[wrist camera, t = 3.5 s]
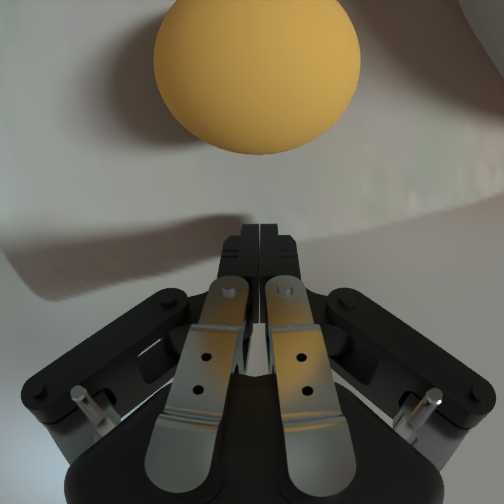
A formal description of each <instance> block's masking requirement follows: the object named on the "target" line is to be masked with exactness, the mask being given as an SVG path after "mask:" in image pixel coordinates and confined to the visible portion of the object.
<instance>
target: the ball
mask: <svg viewBox="0 0 504 504" xmlns="http://www.w3.org/2000/svg"><path fill="white" fill-rule="evenodd" d="M360 64H361V60H360V48H359V43H358V38H357V35H356V32H355V29H354V26H353V24H352V22H351V20H350V19H349V17H348V15H347V13H346V12H345V10H344V9H343V8H342V6H341V5H340V4H339V2H338V1H337V0H177V1H176V2H175V3H174V4H173V5H172V7H171V8H170V9H169V11H168V13H167V14H166V16H165V18H164V19H163V21H162V24H161V26H160V28H159V31H158V34H157V38H156V41H155V47H154V73H155V79H156V82H157V86H158V89H159V92H160V94H161V96H162V98H163V101H164V103H165V104H166V106H167V107H168V109H169V110H170V112H171V113H172V114H173V116H174V117H175V118H176V119H177V120H178V122H179V123H180V124H182V125H183V126H184V127H185V128H186V129H187V130H188V131H189V132H191V133H192V134H194V135H195V136H196V137H198V138H199V139H201V140H203V141H205V142H207V143H208V144H211V145H213V146H216V147H218V148H221V149H224V150H228V151H231V152H236V153H242V154H255V155H262V154H274V153H279V152H284V151H288V150H291V149H294V148H297V147H299V146H302V145H304V144H306V143H308V142H310V141H312V140H314V139H315V138H317V137H319V136H320V135H321V134H323V133H324V132H325V131H326V130H328V129H329V128H330V127H331V126H332V125H333V124H334V123H335V122H336V121H337V120H338V119H339V118H340V116H341V115H342V114H343V112H344V111H345V110H346V108H347V107H348V105H349V103H350V101H351V99H352V97H353V95H354V92H355V90H356V87H357V83H358V79H359V75H360Z"/></svg>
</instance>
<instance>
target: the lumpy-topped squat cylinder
mask: <svg viewBox="0 0 504 504" xmlns="http://www.w3.org/2000/svg"><path fill="white" fill-rule="evenodd" d="M458 2H459V4H460V7H461V9H462V11H463V13H464V15H465V17H466V19H467V21H468V23H469V25H470V27H471V29H472V31H473V32H474V34H475V36H476V37H477V39H478V40H479V42H480V44H481V45H482V47H483V48H484V50H485V51H486V53H487V54H488V56H489V57H490V59H491V61H492V62H493V64H494V65H495V67H496V68H497V70H498V71H499V73H500V74H501V76H502V77H503V79H504V0H458Z"/></svg>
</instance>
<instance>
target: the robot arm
mask: <svg viewBox="0 0 504 504" xmlns="http://www.w3.org/2000/svg"><path fill="white" fill-rule="evenodd" d="M259 284H260V323H265V341H266V352H267V363H268V373H269V374H267V375H262V376H258V377H252V376H247V375H246V374H247V367H248V360H249V354H250V347H251V335H252V331H253V323H259ZM158 339H161V340H160V341H159V342H158V343H156V344H155V345H154V346H152V347H151V348H150V349H148V350H147V351H146V352H144V353H143V354H142V355H140V356H139V357H138V355H139V354H140V353H141V352H142V351H144V350H145V349H146V348H148V347H149V346H151V345H152V344H153V343H154V342H156V341H157V340H158ZM331 369H333V370H334V371H335V372H336V373H337V374H339V375H340V376H341V377H342V378H343V379H344V380H346V381H347V382H348V383H349V384H350V385H352V386H353V387H354V388H355V389H356V390H358V391H359V392H360V393H361V394H362V395H364V396H365V397H366V398H367V399H368V400H370V401H371V402H372V403H373V404H374V405H376V406H377V407H378V408H379V409H381V410H382V411H383V412H384V413H385V414H387V415H388V416H389V417H390V418H392V419H393V429H392V428H391V427H390V426H389V425H388V424H387V423H386V422H384V421H383V420H382V419H381V418H380V417H379V416H378V415H377V414H375V413H374V412H373V411H372V410H371V409H370V408H369V407H368V406H367V405H365V404H364V403H363V402H362V401H361V400H360V399H359V398H358V397H357V396H355V395H354V394H353V393H352V392H351V391H350V390H348V389H347V388H345V387H344V386H342V385H340V384H338V383H336V382H334V379H333V375H332V371H331ZM173 377H174V379H173V382H172V383H170V384H168V385H166V386H165V387H163V388H162V389H160V390H159V391H158V392H156V393H155V394H154V395H153V396H152V397H150V398H149V399H148V400H147V401H146V402H145V403H143V404H142V405H141V406H140V407H139V408H137V409H136V410H135V411H134V412H133V413H131V414H130V415H129V416H128V417H127V418H125V419H124V420H123V421H122V422H121V418H122V417H123V416H124V415H126V414H127V413H128V412H130V411H131V410H132V409H134V408H135V407H136V406H138V405H139V404H140V403H141V402H143V401H144V400H145V399H146V398H148V397H149V396H150V395H152V394H153V393H154V392H155V391H157V390H158V389H159V388H160V387H162V386H163V385H164V384H165V383H167V382H168V381H169V380H170V379H172V378H173ZM21 400H22V402H23V404H24V406H25V407H26V408H27V409H28V410H29V411H30V412H31V413H32V414H33V415H34V416H35V417H36V418H37V420H38V421H39V422H40V423H41V424H42V425H43V426H44V427H46V428H47V429H48V431H49V433H50V434H51V436H52V438H53V439H54V441H55V443H56V444H57V446H58V447H59V449H60V451H61V452H62V454H63V455H64V457H65V458H66V460H67V461H68V463H69V464H70V467H69V469H68V471H67V473H66V476H65V481H64V493H65V498H66V502H67V504H443V499H444V484H443V480H442V477H441V475H440V473H439V472H440V471H441V470H442V468H443V467H444V466H445V464H446V463H447V462H448V460H449V459H450V457H451V456H452V455H453V453H454V451H455V450H456V449H457V448H458V446H459V445H460V443H461V442H462V440H463V439H464V437H465V435H467V434H468V433H469V432H470V431H471V430H472V429H473V428H474V427H475V426H476V425H477V424H478V423H479V422H480V421H481V420H482V419H483V418H484V417H485V416H486V415H487V414H488V413H489V412H490V411H491V410H492V409H493V408H494V406H495V403H496V394H495V391H494V388H493V387H492V385H491V384H490V383H489V382H488V381H487V380H485V379H484V378H482V377H481V376H480V375H478V374H477V373H476V372H474V371H473V370H471V369H470V368H468V367H467V366H466V365H465V364H463V363H462V362H460V361H459V360H457V359H456V358H455V357H453V356H452V355H450V354H449V353H447V352H446V351H445V350H443V349H442V348H440V347H439V346H438V345H436V344H435V343H433V342H432V341H430V340H429V339H428V338H426V337H425V336H423V335H422V334H420V333H419V332H417V331H416V330H415V329H413V328H412V327H410V326H409V325H407V324H406V323H404V322H403V321H402V320H400V319H399V318H397V317H395V316H394V315H393V314H391V313H390V312H388V311H387V310H385V309H384V308H382V307H381V306H380V305H378V304H377V303H375V302H373V301H372V300H371V299H369V298H368V297H366V296H365V295H363V294H362V293H360V292H359V291H356V290H354V289H351V288H338V289H335V290H333V291H332V292H331V293H330V294H329V295H328V296H324V295H320V294H316V293H314V292H311V291H310V290H308V289H307V288H306V287H305V286H304V284H303V282H302V281H301V275H300V268H299V261H298V254H297V247H296V242H295V240H294V239H293V238H292V237H291V236H290V235H278V226H277V224H260V242H259V224H242V228H241V236H229V237H228V238H227V239H226V240H225V242H224V243H223V248H222V254H221V259H220V264H219V270H218V275H217V279H216V280H214V281H213V282H212V284H211V285H210V287H209V290H208V291H207V292H205V293H203V294H199V295H195V296H191V297H187V295H186V293H185V292H184V291H182V290H180V289H177V288H166V289H162V290H160V291H158V292H156V293H155V294H153V295H152V296H150V297H149V298H147V299H146V300H144V301H143V302H141V303H140V304H138V305H137V306H135V307H134V308H132V309H131V310H129V311H128V312H126V313H125V314H123V315H122V316H120V317H119V318H117V319H116V320H114V321H113V322H111V323H110V324H108V325H107V326H105V327H104V328H102V329H101V330H99V331H98V332H96V333H95V334H93V335H92V336H90V337H89V338H87V339H86V340H84V341H83V342H82V343H80V344H79V345H77V346H76V347H74V348H73V349H71V350H70V351H68V352H67V353H65V354H64V355H62V356H61V357H59V358H58V359H57V360H55V361H54V362H52V363H51V364H49V365H48V366H47V367H45V368H43V369H42V370H41V371H39V372H38V373H36V374H35V375H33V376H32V377H31V378H29V379H28V380H27V381H26V382H25V384H24V386H23V388H22V391H21Z"/></svg>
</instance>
